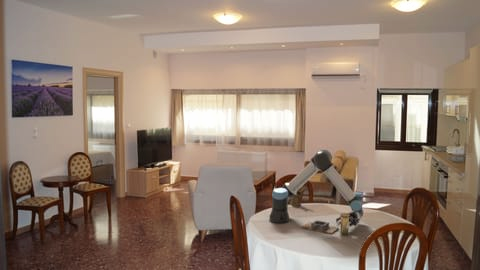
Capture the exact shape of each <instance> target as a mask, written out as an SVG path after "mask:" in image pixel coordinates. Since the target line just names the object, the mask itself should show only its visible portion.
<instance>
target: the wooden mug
mask: <svg viewBox="0 0 480 270" xmlns="http://www.w3.org/2000/svg"><path fill="white" fill-rule="evenodd" d="M305 189H306V185H303V186H302V187H301V188H300V189H299V190H297V194H296V195H295V196H294V197H293V198H292V199H291V200H290V201H289V205H290V206H294V207H297V206H301V205H302V204H301V203H302V202H301V200H302V199H303V196H304V193H303V191H304V190H305Z"/></svg>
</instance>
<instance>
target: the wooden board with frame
mask: <svg viewBox="0 0 480 270" xmlns="http://www.w3.org/2000/svg"><path fill="white" fill-rule="evenodd" d="M301 229H303V230H308V231H314V232H319V233H323V234H329V235H333V234H334V233H336V232H337V231H338V230H340V228H339V226H333V225H330V222H327V221H324V220H317V219H315V220H314V221H313V222H311V221H309V222H307V223H306V224H304V225H302V226H301Z"/></svg>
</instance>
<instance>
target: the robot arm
mask: <svg viewBox="0 0 480 270" xmlns="http://www.w3.org/2000/svg"><path fill="white" fill-rule="evenodd" d="M332 160H333V156H332V153H331V152H330V151H329V150H327V149H320V150H318V152H316V153H315V154H314V156H312V158H311V157H310V162H309V163H308V164H307V165H306V166H305V167H304V168H302V170H301V171H299V173H297V175H296V176H294V178H292V179H291V180H290V181H289V182H285V183H284V184H283V185H282V186H281V187H277V188H274V189H273V190H272V194H271V197H272V199H271V200H272V201H271V202H272V203H271V212H270V214H269V217H268V218H269V219H268V220H269V221H270V222H271V223H274V224H287V223H289V222H290V220H291V219H290V214H289V211H288V208H289V207H288V206H289V203H290V202H291V199H292V198H293V197H294V196H295V195H296V194H297V191H299V190H300V189H301V188H302V187H304V186H305V184H306V183H307V182H308V181H309V180H310V179H311V178H312V177H313V176H315V174H317V173H318V172H319V171H320V172H321V173H323V174H325V176H326V177H327V178H328V179H329V180H330V182H331V183H332V185H333V186H334V187H335V189H337V191H338V192H339V193H340V194H341V196H342V197H343V199H345V201H346V202H347V204H348V205H349V206H350V207H349V208H350V209H351V210H350V212H348V213H349V214H350V216H349V223H347V228H348V229H349V228H350V227H353V226H354V227H356V226H357V225H358V224H359V223H361V222H360V220H361V218H362V217H363V216H364V214H365V213H364V209H363V203H364V202H363V201H364V194H363V193H362V192H357V191H355V192H354V190H352V189H351V187H350V186H349V184H347V182H346V180H345V179H344V178H343V177H342V176H341V175H340V174H339V172H338V171H337V170H336V168H335V167H334V163H332ZM335 222H336V227H339V226H341V216H340V215H339V217H337V218H336V219H335Z"/></svg>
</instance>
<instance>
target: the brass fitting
mask: <svg viewBox="0 0 480 270" xmlns="http://www.w3.org/2000/svg"><path fill="white" fill-rule="evenodd" d="M340 216H341V224H340V228H339V231H340V232H339V234H340V235H341V236H345V237H346V236H348V235H349V228H347V223H349V216H350V214H349V212H348V213H347V212H340V214H339V217H340Z"/></svg>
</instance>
